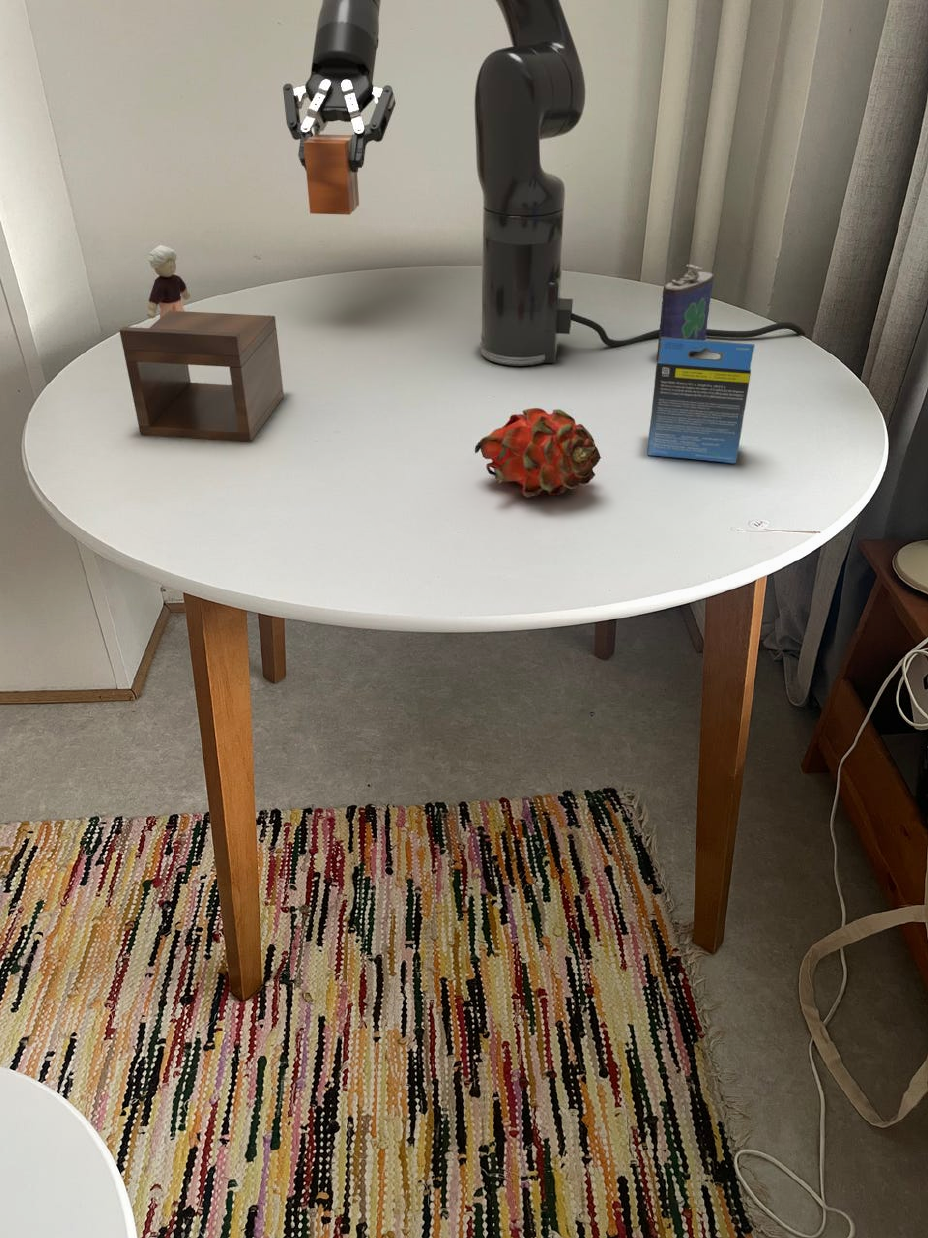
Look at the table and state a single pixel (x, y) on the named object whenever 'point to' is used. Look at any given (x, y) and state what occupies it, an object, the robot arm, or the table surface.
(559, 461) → the dragon fruit
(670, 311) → the flask
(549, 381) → the table surface
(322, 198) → the block
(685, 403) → the tape cartridge
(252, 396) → the shelf
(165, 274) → the grandmother figurine
